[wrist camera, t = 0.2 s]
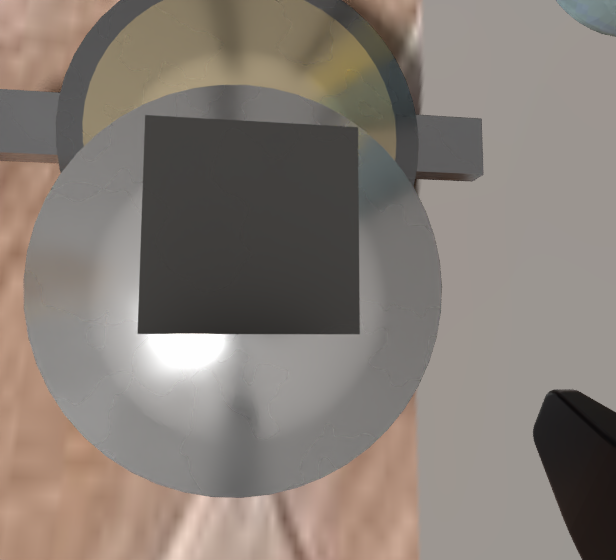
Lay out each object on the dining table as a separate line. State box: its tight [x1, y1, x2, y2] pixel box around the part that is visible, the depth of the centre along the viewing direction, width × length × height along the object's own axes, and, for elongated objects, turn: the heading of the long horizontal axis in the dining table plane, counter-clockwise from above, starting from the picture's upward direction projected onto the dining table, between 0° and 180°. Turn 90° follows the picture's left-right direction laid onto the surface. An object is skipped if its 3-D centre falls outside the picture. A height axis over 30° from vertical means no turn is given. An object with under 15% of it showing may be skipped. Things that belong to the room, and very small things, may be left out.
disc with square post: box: [24, 85, 442, 498], centre depth 14 cm, size 15×15×11 cm
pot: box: [0, 0, 483, 186], centre depth 21 cm, size 14×20×3 cm
